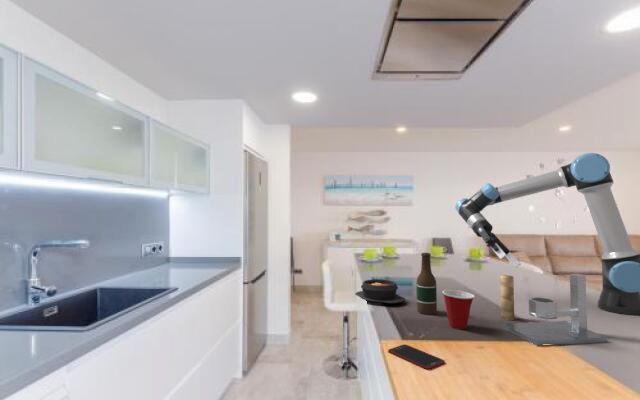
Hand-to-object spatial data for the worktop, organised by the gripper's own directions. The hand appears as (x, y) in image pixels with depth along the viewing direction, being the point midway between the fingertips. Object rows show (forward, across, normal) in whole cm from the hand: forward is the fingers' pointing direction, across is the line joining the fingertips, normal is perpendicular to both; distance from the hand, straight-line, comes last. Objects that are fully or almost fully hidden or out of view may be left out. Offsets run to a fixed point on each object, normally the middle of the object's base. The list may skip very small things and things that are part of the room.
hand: (511, 261), depth 139 cm
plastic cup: (+18, +22, -25) cm, 38 cm away
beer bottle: (+4, +17, -36) cm, 40 cm away
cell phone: (+31, +54, -29) cm, 68 cm away
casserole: (-14, +17, -53) cm, 58 cm away
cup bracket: (+31, +7, -4) cm, 32 cm away
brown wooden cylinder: (+17, +1, -14) cm, 22 cm away
